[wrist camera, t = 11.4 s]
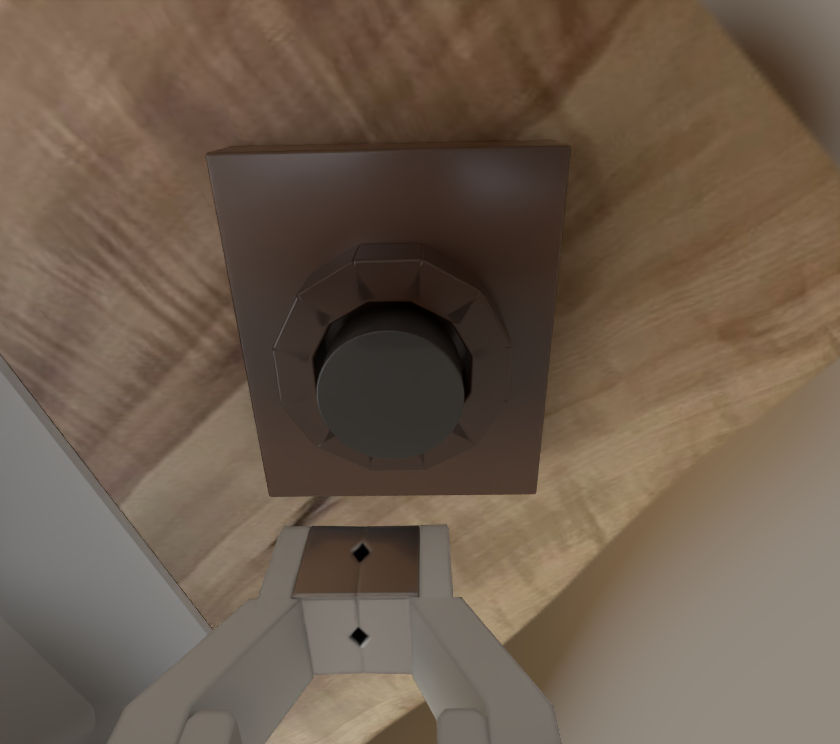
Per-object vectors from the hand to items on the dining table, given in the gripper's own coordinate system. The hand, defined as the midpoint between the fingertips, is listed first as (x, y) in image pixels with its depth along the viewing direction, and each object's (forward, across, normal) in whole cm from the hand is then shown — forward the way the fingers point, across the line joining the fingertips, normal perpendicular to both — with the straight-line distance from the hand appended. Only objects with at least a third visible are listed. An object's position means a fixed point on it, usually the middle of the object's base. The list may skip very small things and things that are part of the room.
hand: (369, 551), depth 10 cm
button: (+7, 0, 0) cm, 7 cm away
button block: (+11, 0, 0) cm, 11 cm away
